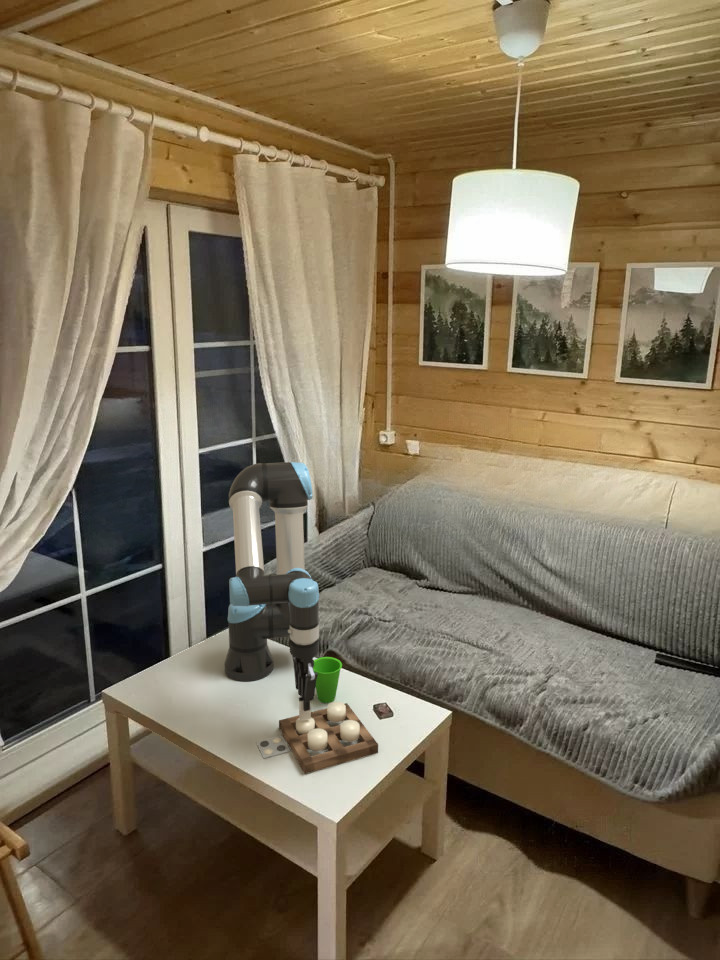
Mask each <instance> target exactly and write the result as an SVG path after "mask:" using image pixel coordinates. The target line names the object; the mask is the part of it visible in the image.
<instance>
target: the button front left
mask: <svg viewBox="0 0 720 960" xmlns="http://www.w3.org/2000/svg"><path fill="white" fill-rule="evenodd" d="M339 725H340V737H341V739H342V740H341V741H344V742H347V743H348V742H349V743H353V742H356V741H359V740H358V739H359V736H360V725H359V723H358V722H357V721H354V720H346V721H344V720H343V721H342V722H340V724H339Z"/></svg>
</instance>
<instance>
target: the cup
mask: <svg viewBox="0 0 720 960" xmlns="http://www.w3.org/2000/svg"><path fill="white" fill-rule="evenodd" d="M313 660H314V667H313V672H314V673H315V672H317V674H318V677H317V679H316V687H315V694H316V698H317V701H318V702H320V703H322V704H330V703H332V702H335V700H336V695H337V690H338V685H339V678H340V672H341V669H342V668H343V663H342V662H341V660H339V659H337V658H336V657H332V656H322V657H317V658H316V659H313Z"/></svg>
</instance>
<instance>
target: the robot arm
mask: <svg viewBox="0 0 720 960" xmlns="http://www.w3.org/2000/svg"><path fill="white" fill-rule="evenodd" d="M313 497H314V496H313V485H312V480H311V476H310V471H309V468H308V466H307V465H306V464H305V463H303V462H298V461H297V462H295V461H294V462H293V461H287V462H285V461H284V462H270V463H269V462H268V463H261V462H257V463H253V464H251V465H248V466H246V467H245V468H244V469H242V470H241V471H240V472H239V473H238V474H237V476H236V477H235V478H234V480H233V482H232V484H231V486H230V488H229V492H228V504H229V507H230V509H231V510H232V515H233V517H232V518H233V520H232V521H233V537H234V556H235V557H234V558H235V559H234V561H235V563H234V564H235V576H234V577H230V578H229V580H228V581H229V582H228V584H229V587H228V588H229V605H228V609H227V610H228V611H227V612H228V613H227V614H228V615H227V622H228V643H229V644H228V645H229V646H228V649H227V650H228V651H227V654H226V657H225V660H224V666H223V667H224V674H225V675H226V676H227V677H228V678H229V679H232V680H234V681H240V682H251V681H252V682H253V681H258V680H261V679H263V678H265V677H267V676H268V675H270V674H271V673H272V671H273V670H274V658H273V656H272V654H271V653H272V652H271V650H270V648H269V646H268V639H278V638H279V639H281V638H290V639H289V653H290V655H291V657H292V661H293V663H292V664H293V671H294V683H295V690H297V694H298V696H299V697H298V711H299V712H298V715H299V718H300V720H301V721H304V720H308V719H311V712H312V709H311V706H312V704H311V702H312V701H314V700H315V696H316V679H317V677H318V674H317V672H315V673H314V672H313V667H314V660H315V659H314V657H316V656H317V655H318V654H319V652H320V639H319V637H320V622H319V616H320V615H319V609H320V607H319V606H320V603H319V602H320V593H319V592H320V591H319V590H320V589H319V584H318V582H317V581H314V579H312V576H311V575H310V573H309V572H308V571H307V570H305V568H306V567H305V565H306V564H305V537H304V535H305V534H304V510H306V508H308V507H309V506H308V503H309V502H308V501H311V500H312V499H313ZM263 502H269V508H270V509H271V510H272V511H273V512H274V525H275V526H274V527H275V550H276V551H275V553H276V574H269V575H266V574H265V567H264V566H265V565H264V563H265V562H264V552H263V540H262V529H261V517H260V516H261V515H260V513H261V512H260V508H261V507H262V504H263Z"/></svg>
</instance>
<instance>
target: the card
mask: <svg viewBox="0 0 720 960" xmlns="http://www.w3.org/2000/svg"><path fill="white" fill-rule="evenodd" d="M255 743H256V746H257V748H258V749H259V753H260V754H261V757H262V758H263V760H265V759H269V758H272V757H276V756H279V755H283V754H287V753H290V752H291V749H290V747H288V746H289V745H288V743H287V741H286V740H285V738H284V736H283V734H282V735H277V736H273V737H269V738H266V739H265V738H264V739H261V740H258V741H255Z"/></svg>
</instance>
